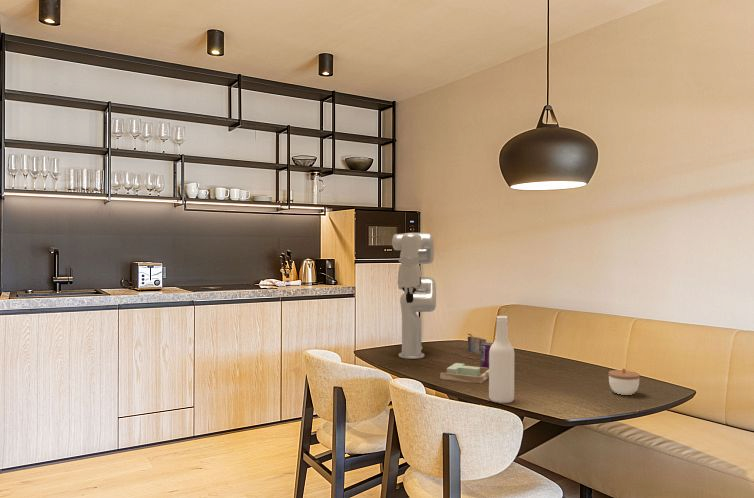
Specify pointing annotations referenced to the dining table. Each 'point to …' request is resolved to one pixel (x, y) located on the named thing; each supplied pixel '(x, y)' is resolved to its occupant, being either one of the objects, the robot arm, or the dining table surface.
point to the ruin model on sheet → (475, 343)
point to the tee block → (463, 370)
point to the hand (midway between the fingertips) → (409, 302)
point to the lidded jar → (624, 381)
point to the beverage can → (484, 354)
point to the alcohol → (501, 365)
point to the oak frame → (467, 376)
